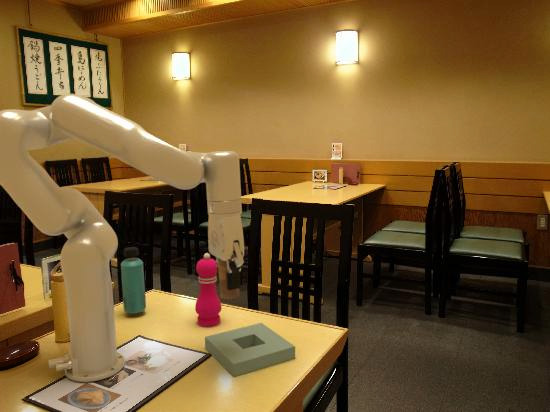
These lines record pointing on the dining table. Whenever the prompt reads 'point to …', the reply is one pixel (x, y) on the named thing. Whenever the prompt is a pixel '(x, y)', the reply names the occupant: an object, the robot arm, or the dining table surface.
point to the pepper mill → (207, 293)
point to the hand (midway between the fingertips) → (229, 284)
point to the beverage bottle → (133, 282)
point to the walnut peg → (225, 281)
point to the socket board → (243, 361)
